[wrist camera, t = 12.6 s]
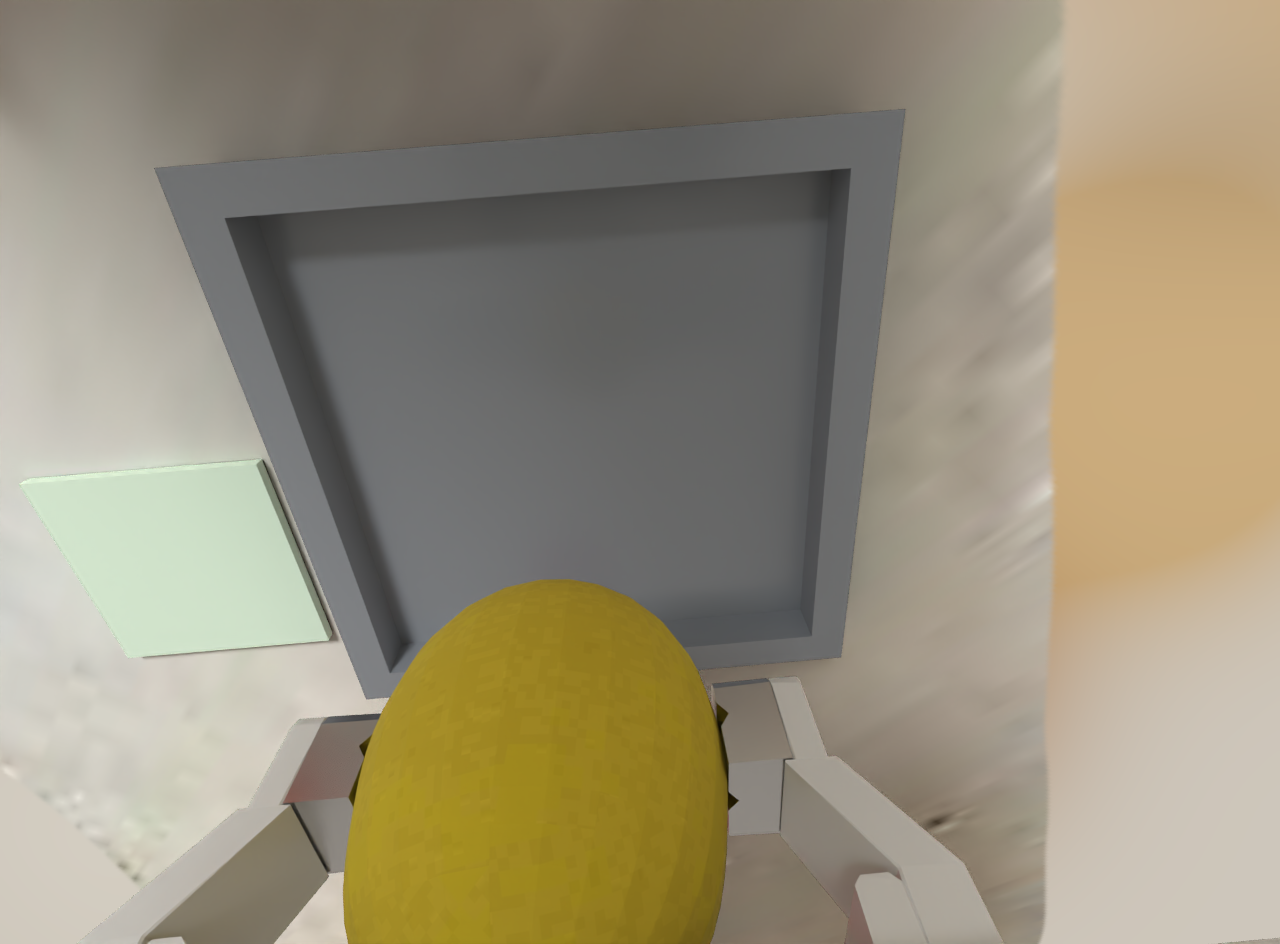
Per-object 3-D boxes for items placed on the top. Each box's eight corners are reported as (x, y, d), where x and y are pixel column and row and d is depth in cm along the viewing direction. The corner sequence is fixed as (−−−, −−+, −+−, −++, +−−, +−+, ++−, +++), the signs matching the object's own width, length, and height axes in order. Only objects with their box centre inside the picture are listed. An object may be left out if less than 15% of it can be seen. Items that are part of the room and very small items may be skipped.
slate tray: (216, 163, 17) (154, 168, 15) (864, 113, 17) (905, 108, 15) (388, 647, 26) (366, 699, 23) (819, 609, 26) (841, 657, 23)
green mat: (28, 478, 21) (18, 484, 21) (261, 459, 21) (255, 464, 21) (135, 650, 25) (128, 657, 25) (332, 633, 25) (328, 640, 25)
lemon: (601, 732, 15) (587, 1249, 8) (390, 634, 13) (139, 1179, 6) (748, 583, 13) (905, 1095, 6) (523, 447, 11) (373, 933, 4)
